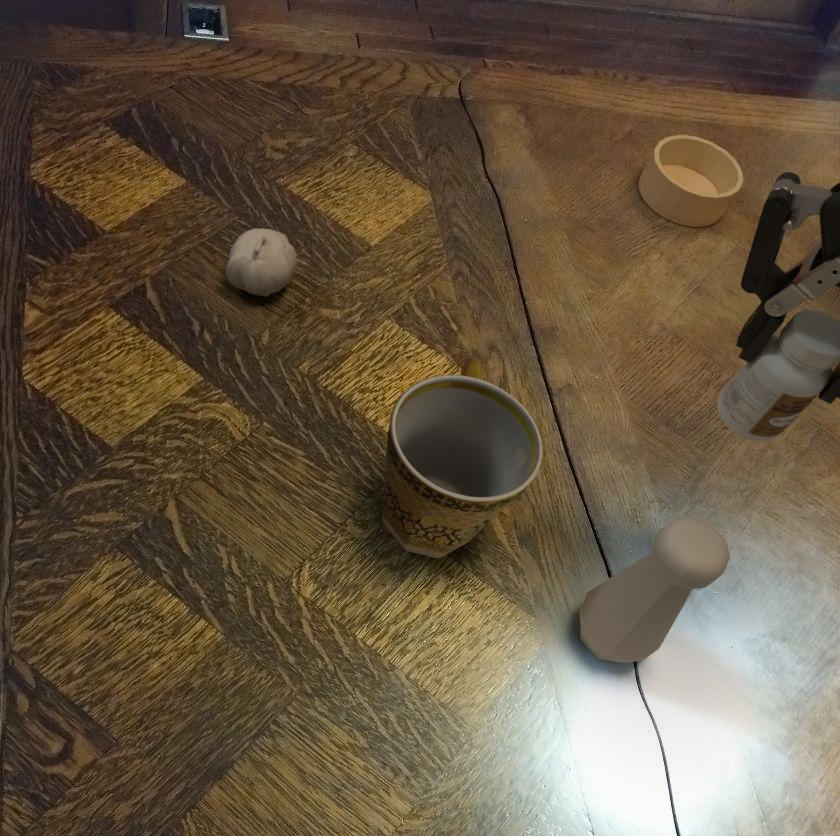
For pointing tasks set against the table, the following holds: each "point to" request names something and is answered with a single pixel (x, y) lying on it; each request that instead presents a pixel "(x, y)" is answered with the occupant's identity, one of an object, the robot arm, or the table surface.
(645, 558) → the salt shaker
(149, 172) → the table surface
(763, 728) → the table surface
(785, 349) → the pill bottle
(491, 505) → the ceramic cup
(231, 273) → the garlic
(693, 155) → the tan round bowl
